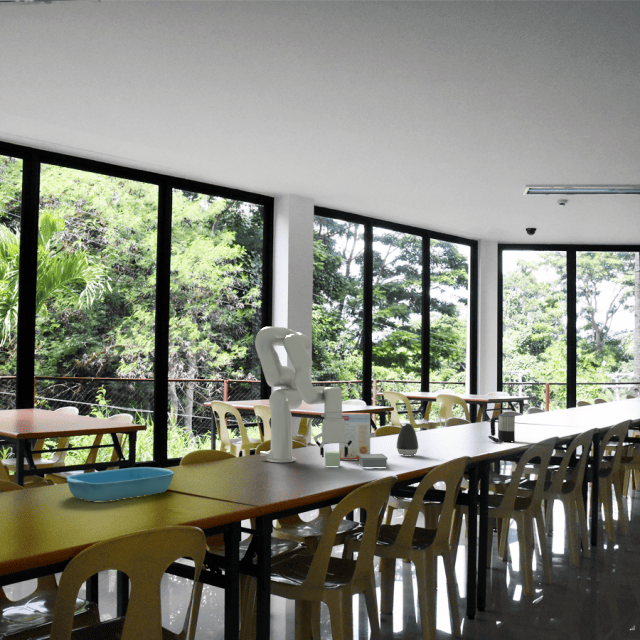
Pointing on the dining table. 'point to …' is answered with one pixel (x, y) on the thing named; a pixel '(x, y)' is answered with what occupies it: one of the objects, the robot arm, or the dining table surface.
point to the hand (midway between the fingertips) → (334, 456)
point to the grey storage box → (372, 460)
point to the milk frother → (503, 428)
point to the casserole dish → (120, 483)
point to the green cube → (332, 458)
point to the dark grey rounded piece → (407, 440)
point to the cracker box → (356, 434)
